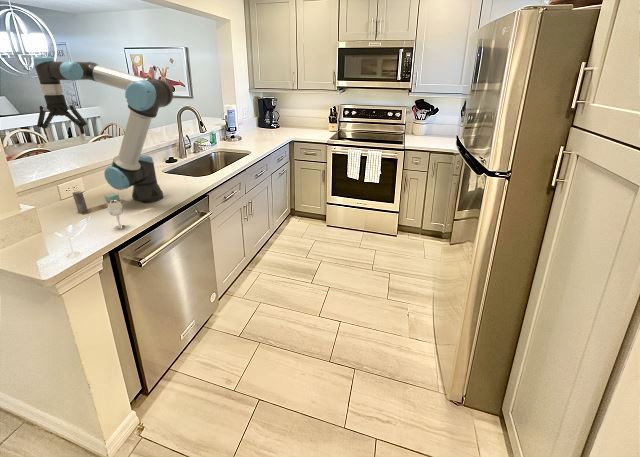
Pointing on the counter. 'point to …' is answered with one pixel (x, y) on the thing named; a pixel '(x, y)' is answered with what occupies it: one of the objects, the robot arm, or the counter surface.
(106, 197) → the cube
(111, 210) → the wineglass
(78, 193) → the mallet
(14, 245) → the counter surface
